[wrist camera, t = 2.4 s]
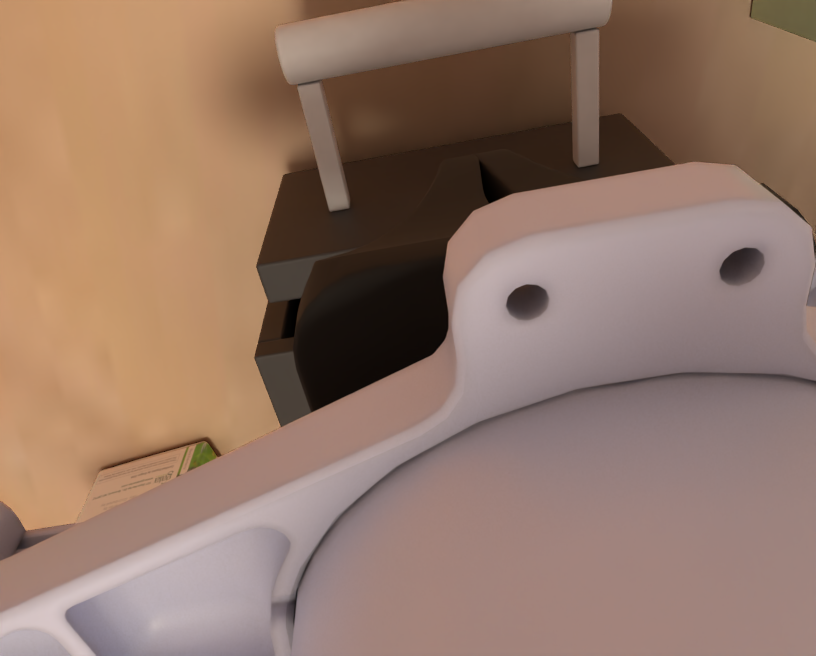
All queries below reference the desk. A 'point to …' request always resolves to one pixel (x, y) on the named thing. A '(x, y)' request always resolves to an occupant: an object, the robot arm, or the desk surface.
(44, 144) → the desk surface
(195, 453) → the syrup box
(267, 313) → the small drawer cabinet
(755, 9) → the block
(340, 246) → the black drawer
